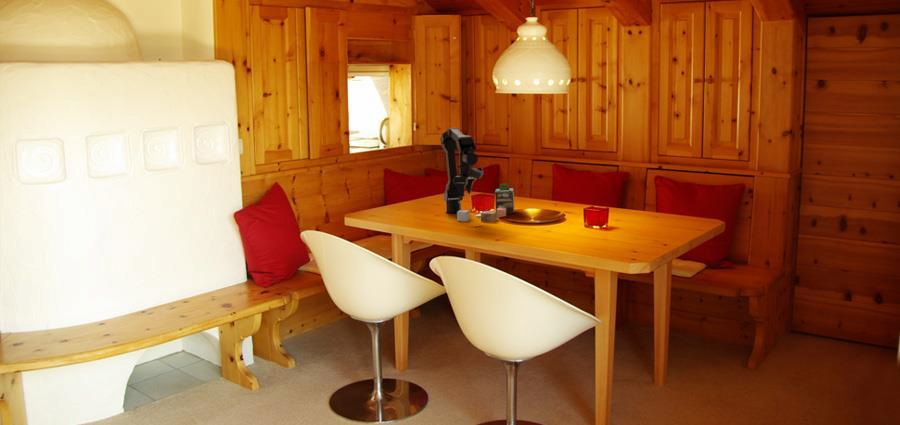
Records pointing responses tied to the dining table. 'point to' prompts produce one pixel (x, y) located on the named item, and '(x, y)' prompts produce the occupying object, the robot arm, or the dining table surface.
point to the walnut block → (489, 216)
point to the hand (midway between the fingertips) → (466, 194)
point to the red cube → (501, 212)
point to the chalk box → (505, 198)
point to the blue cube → (463, 215)
